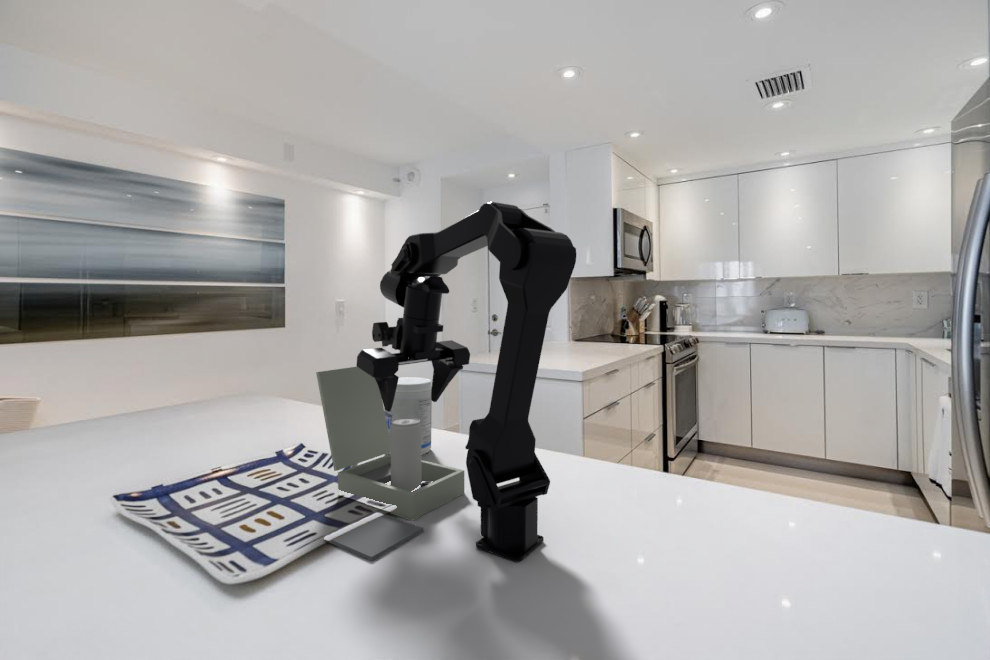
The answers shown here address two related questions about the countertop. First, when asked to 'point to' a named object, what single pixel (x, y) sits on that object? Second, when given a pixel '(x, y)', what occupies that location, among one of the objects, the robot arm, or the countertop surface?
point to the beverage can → (405, 453)
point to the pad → (377, 537)
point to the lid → (353, 416)
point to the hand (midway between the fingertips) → (411, 405)
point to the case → (409, 504)
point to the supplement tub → (413, 406)
